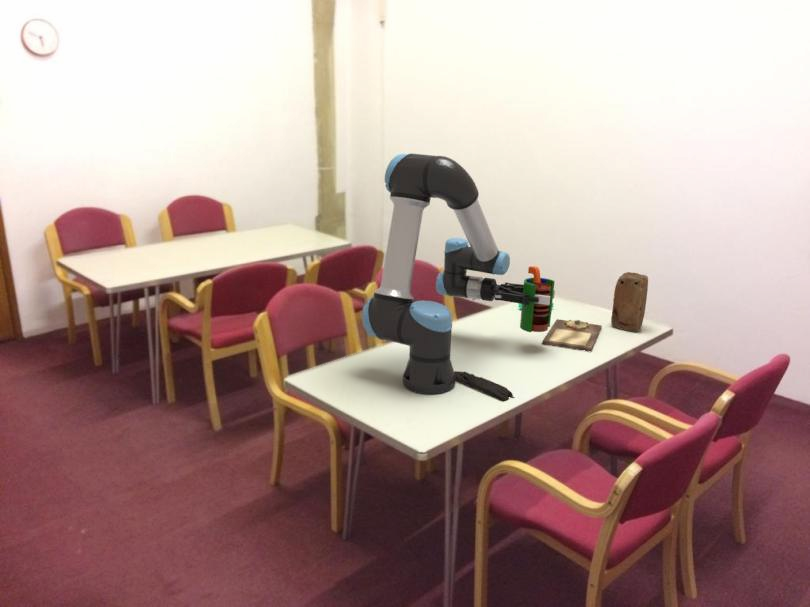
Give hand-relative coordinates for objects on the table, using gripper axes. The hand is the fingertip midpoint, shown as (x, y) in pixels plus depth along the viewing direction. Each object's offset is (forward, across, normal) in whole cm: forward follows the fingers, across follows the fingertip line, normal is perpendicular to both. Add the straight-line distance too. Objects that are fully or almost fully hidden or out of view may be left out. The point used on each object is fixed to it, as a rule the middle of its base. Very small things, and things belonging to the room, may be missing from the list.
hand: (552, 297), depth 214 cm
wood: (-12, +35, -19) cm, 42 cm away
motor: (-5, 0, -11) cm, 12 cm away
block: (+21, -35, -18) cm, 45 cm away
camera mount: (-13, -43, -19) cm, 48 cm away
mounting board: (+5, -18, -18) cm, 26 cm away
